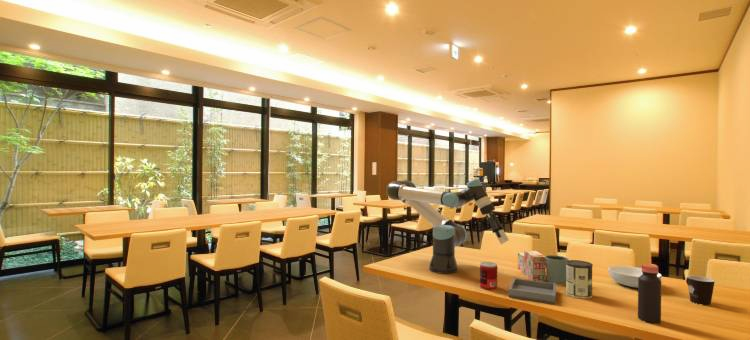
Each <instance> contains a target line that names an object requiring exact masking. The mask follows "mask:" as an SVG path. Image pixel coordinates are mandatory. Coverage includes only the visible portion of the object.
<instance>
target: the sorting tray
mask: <svg viewBox="0 0 750 340" xmlns="http://www.w3.org/2000/svg"><path fill="white" fill-rule="evenodd" d="M556 293H557V284H555V283H549V282H547V281H533V280H531V279H524V278H517V277H513V278H512V281H511V283H510V285H509V287H508V298H513V299H518V300H525V301H526V300H527V301H532V302H539V303H543V304H544V303H545V304H549V305H551V304H552V305H556V296H557V294H556Z"/></svg>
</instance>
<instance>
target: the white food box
mask: <svg viewBox="0 0 750 340" xmlns="http://www.w3.org/2000/svg"><path fill="white" fill-rule="evenodd" d="M545 256H546V255H544V254H543V253H540V252H538V251H537V250H524V251H523V252H517V270H519V271H520V272H521V273H523V274H524V275H525V276H527V278H529V280H533V281H540V282H546V279H547V276H546V257H545Z"/></svg>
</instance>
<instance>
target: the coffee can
mask: <svg viewBox="0 0 750 340" xmlns="http://www.w3.org/2000/svg"><path fill="white" fill-rule="evenodd" d="M593 266H594V264H593V263H592V262H589V261H585V260H578V259H570V260H569V259H568V261H566V284H565V287H566V289H565V293H566V294H567V295H568V296H569V297H573V298H576V299H585V300H586V299H587V300H588V299H591V298H593Z"/></svg>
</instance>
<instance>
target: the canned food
mask: <svg viewBox="0 0 750 340" xmlns="http://www.w3.org/2000/svg"><path fill="white" fill-rule="evenodd" d="M479 287H480V288H481V289H483V290H487V291H493V290H494V291H495V290H496V289H497V288H498V264H497V263H496V262H492V261H482V262H481V261H480V263H479Z"/></svg>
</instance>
